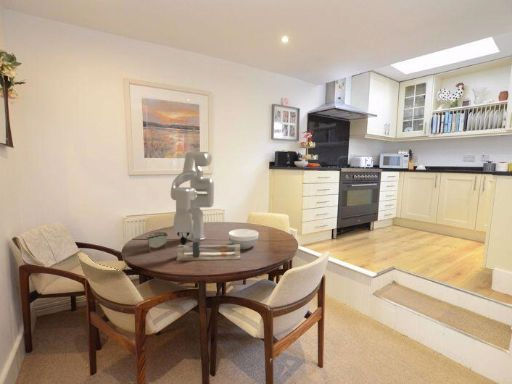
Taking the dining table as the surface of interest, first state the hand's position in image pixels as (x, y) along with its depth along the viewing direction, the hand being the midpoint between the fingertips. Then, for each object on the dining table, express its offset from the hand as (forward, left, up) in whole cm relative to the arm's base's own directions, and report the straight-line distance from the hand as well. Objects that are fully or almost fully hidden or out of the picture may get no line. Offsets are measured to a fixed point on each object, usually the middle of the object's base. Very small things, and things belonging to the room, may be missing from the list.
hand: (183, 244), depth 137 cm
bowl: (-18, +34, -8) cm, 39 cm away
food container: (-14, -19, -8) cm, 25 cm away
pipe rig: (0, +14, -8) cm, 16 cm away
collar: (0, +7, -6) cm, 9 cm away
